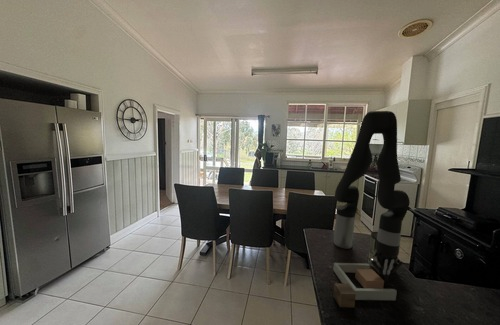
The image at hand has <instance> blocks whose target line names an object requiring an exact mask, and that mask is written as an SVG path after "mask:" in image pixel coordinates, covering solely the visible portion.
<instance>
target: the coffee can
mask: <svg viewBox="0 0 500 325" xmlns="http://www.w3.org/2000/svg"><path fill="white" fill-rule="evenodd" d="M377 233H378V231H372V232H371V233H370V243H369V250H368V251H369V252H368V258H367V259H368V261H367V264H369V265H370V267H372V268H374V267H373V265H372V264H371V262H370V261H369V258H373V257H375V253H376V241H377ZM377 265H378V261H377ZM378 266H379V265H378ZM393 268H394V266H393V267H392V269H393Z"/></svg>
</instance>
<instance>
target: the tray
mask: <svg viewBox="0 0 500 325" xmlns="http://www.w3.org/2000/svg"><path fill="white" fill-rule="evenodd" d="M370 267H371V265H370V264H369V263H360V262H359V263H355V262H354V263H353V262H351V263H350V262H334V263H333V270H332V271H333V272H334V273H335V275H336V276H337V278H338V279H339V280H340V282H341V284H349V286H350V287H351V288H352V290H353V291H354V292H355V294H356V297H355V301H396V300H397V294H398V293H397V289H395V288H383V289H367V288H363V287H362V288H361V287H356V285H355V284H354V283H353V282H352V281H351V279H350V278H349V277H348V275H347V274H346V273H353V274H356V269H371V268H370Z"/></svg>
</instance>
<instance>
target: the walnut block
mask: <svg viewBox="0 0 500 325" xmlns="http://www.w3.org/2000/svg"><path fill="white" fill-rule="evenodd" d="M332 295H333V298H334V300H335V301H336V303H337V305H338V306H339V308H355V305H356V300H355V297H356V294H355V292H354V291H353V290H352V288H351V287H350V286H349V284H343V283H337V282H335V283H334V284H333V294H332Z"/></svg>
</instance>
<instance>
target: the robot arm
mask: <svg viewBox="0 0 500 325" xmlns="http://www.w3.org/2000/svg"><path fill="white" fill-rule="evenodd" d="M377 134H378V135H379V134H381V136H382V138H383V140H382V141H383V145H382V148H381V151H380V153H379V155H378V156H377V157H378V158H377V162H376V167H377V175H378V186H377V194H376V195H377V201H378V204H379V205H380V207H382V209H385V210H386V211H385V212H384V213H382V214H380V215H379V216H380V217H379V224H378V230H377V232H378V233H377V241H376V253H375V257H373V258H369V257H368V259H369V261H370V262H371V264H372V265H373V267H372V268H374V269H375V270H376V272H377V273H378V276H380V277H381V278H382V279H383V280H384V284H387V283H388V281H389V275H390V274H395V273H396V271H397V270H398V269H399V268H400V267H401V266H402V265H403V261H402V260H400V259H399V254H400V247H401V240H402V236H401V232H402V226H403V225H402V224H403V221H404V218H405V217H406V214H407V212H408V210H409V208H410V203H411V202H410V197H409V195H408V194H407V193H406V191H404V190H400V189H398V190H397V189H395V186H396V184H397V185H398V184H399V183H400V182H401V180H402V178H401V173H400V167H399V159H398V121H397V116H396V114H395V112H393V111H390V110H371V111H368V112H366V113H365V115H364V117H363V118H362V121H361V124H360V128H359V131H358V135H357V138H356V141H355V144H354V147H353V150H352V152H351V155H350V157H349V159H348V162H347V164H346V167H345V169H344V173H343V175H342V177H341V178H340V181H339V182H338V184H337V186H336V188H335V191H334V198H335V201H337V202H338V203H345V204H343V205H342V206H338V207H337V208H336V213H335V214H336V216H335V224H334V229H333V230H334V231H333V244H334V245H335V246H336V247H338V248H341V249H345V250H347V249H351V248H352V247H353V240H354V239H353V238H354V230H355V220H356V214H357V211H358V206H359V205H358V204H359V200H360V190H359V188H358V187H357V186H355V185H352V184H354V183H355V182H357V181H358V180H359V179H361V178H362V177H363V176H364V175H366V174H367V172H368V171H369V169H370V166H371V165H372V162H373V154H372V150H371V147H370V143H371V140H372V137H373V136H374V135H377ZM377 261H378V265H379V266H378V265H377ZM393 266H394V268H393V269H392V267H393Z"/></svg>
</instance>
